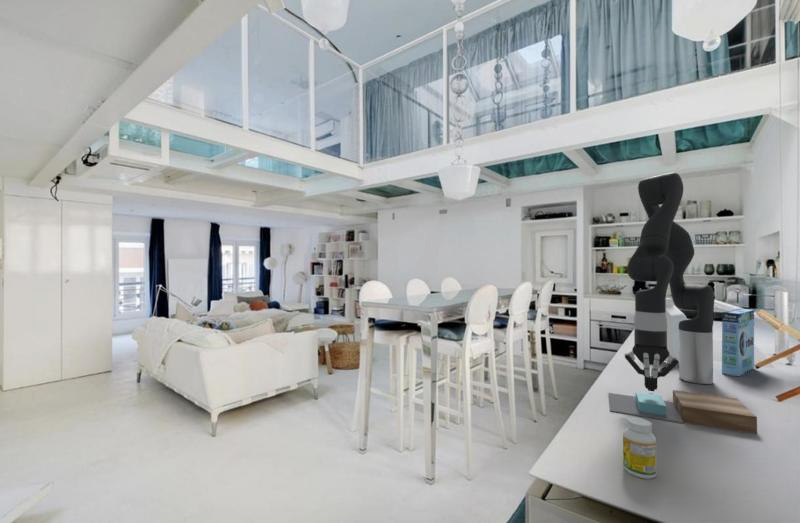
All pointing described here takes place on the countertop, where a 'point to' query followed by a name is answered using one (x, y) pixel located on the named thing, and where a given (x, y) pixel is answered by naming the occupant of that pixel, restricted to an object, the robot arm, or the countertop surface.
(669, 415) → the mat
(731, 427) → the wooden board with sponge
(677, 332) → the milk
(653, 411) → the teal foam pad
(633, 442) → the supplement bottle
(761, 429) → the countertop surface
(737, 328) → the gum box
